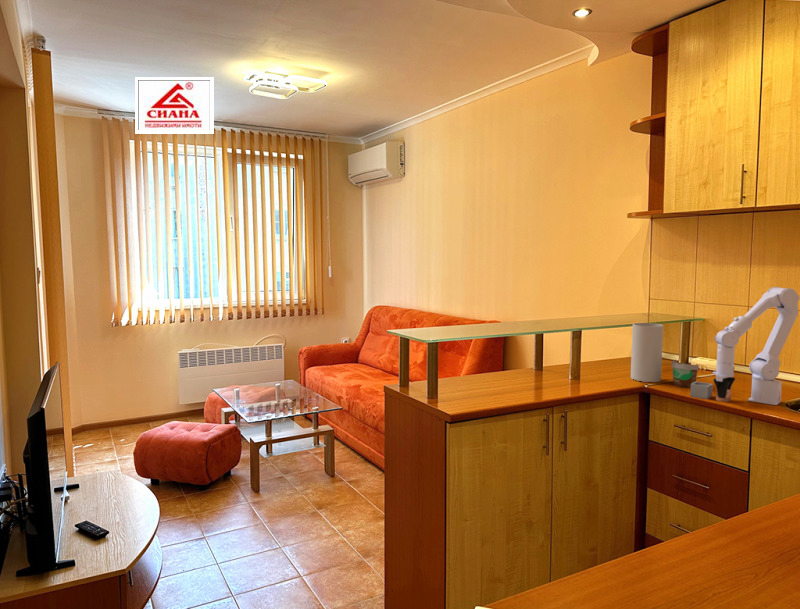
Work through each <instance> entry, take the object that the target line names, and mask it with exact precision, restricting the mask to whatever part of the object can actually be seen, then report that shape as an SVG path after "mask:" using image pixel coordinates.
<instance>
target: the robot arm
mask: <svg viewBox="0 0 800 609" xmlns="http://www.w3.org/2000/svg"><path fill="white" fill-rule="evenodd" d="M799 301H800V296H799V295H798V292H797V291H796V290H795V289H793V288H791V287H790V288H789V287H787V288H785V287H778V286H773V287H770V288H769V289H768V290H767V291H766V292H764V293H763V294H762V296H761V297H760V299H759V300H758V301H757V302H756V303H754V305H753V306H752V307H751V308H750V309H749V310H748V311H747V312H746V313H745V314H744V315H739V316H736V317H734V318H733V321H732V322H731V323H730V324H729V325H727V326H725V327H724V329H723V330H719V332H717V334H716V336H714V341H715V343H716V344H717V350H716V367H715V368H716V371H712V374H713V375H715V378H713V380H712V381H713V383H714V385H715V387H716V388H715V389H716V390H717V392H718V397H719V398H725V397H726V393H727V390H731V389H732V385H733V383H734V382H735V380H736V377H734V376H735V374H734V371H735V370H734V368H735V365H734V364H735V353H736V352H735V348H736V345H738V343H739V340H740V338H741V337H742V336H743V335H744V334H746V332H748V331H749V330H750V329H752V326H753V322H754V321H755V320H757V318H758V317H760V316H761V315H763V313H765V312H766V311H767V310H768V309H770V308H776V310H777V312H778V316H777V319H776V321H775V323H774V325H773V328H772V329H771V331H770V334H769V336H768V338H767V341H766V343H765V345H764V347H763V348H762V351H760V352H759V353H757V355H756V356H755V358H754V359H752V360H751V361H750V363H749V365H748V367H749V368H748V369H749V371H750V373H752V374H751V390H750V391H751V392H750V393H751V396H750V397H749V398H748V399H747V401H748V402H754V403H761V404H765V405H771V406H773V405H774V406H778V405H779V404H780V403H781V402H782V385H783V384H782V381H781V380H777V379H776V378H777V377H778V376H779V374H780V365H782V364H781V361H780V358H779V356H780V354H781V353H782V350H783V348H784V345H785V344H786V342H787V339H788V337H789V335H790V333H791V330H792V328H793V326H794V324H795V321H796V320H797V317H798V315H799Z"/></svg>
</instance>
